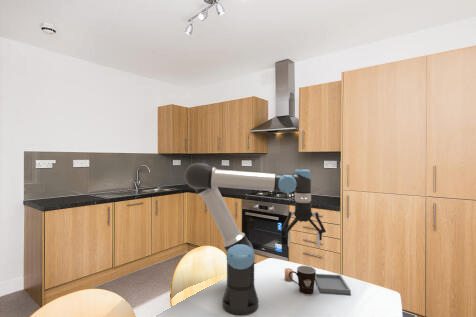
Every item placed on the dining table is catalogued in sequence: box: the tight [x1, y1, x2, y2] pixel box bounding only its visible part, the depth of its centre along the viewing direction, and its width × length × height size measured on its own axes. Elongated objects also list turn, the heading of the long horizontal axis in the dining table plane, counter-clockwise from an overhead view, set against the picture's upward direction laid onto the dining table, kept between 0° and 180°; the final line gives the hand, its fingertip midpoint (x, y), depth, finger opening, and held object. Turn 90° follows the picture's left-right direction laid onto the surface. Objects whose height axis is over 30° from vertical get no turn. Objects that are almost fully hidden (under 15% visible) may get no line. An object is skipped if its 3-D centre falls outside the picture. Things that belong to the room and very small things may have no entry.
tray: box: [315, 273, 352, 296], centre depth 120 cm, size 14×16×2 cm
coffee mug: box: [289, 265, 317, 296], centre depth 116 cm, size 12×9×10 cm
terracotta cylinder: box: [284, 267, 294, 282], centre depth 127 cm, size 4×4×5 cm
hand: (303, 246), depth 117 cm, fingers open, 13 cm apart
